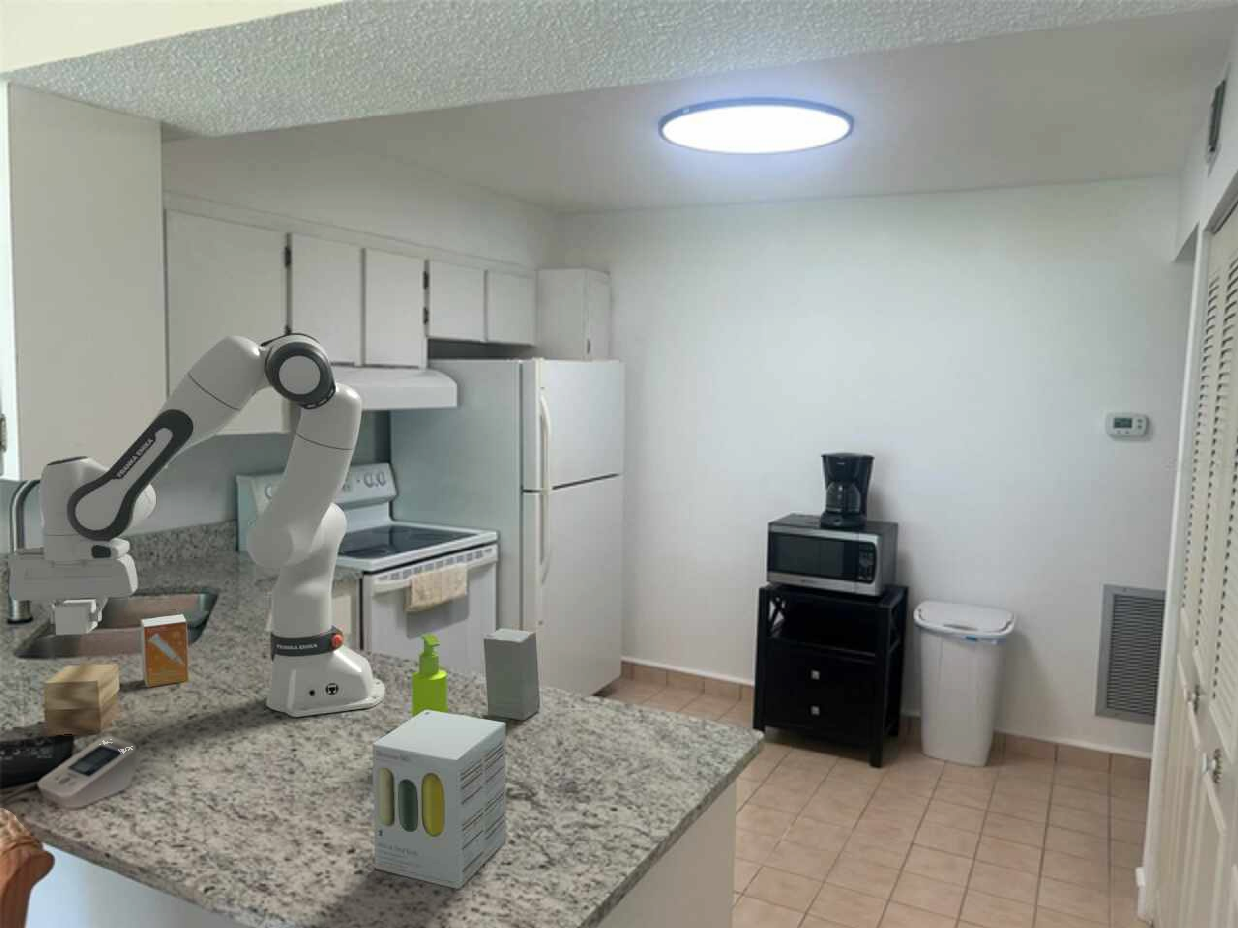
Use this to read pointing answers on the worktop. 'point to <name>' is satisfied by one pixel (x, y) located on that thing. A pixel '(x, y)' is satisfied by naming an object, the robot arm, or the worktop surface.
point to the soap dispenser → (429, 680)
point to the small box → (164, 650)
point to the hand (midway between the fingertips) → (76, 621)
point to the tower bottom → (81, 719)
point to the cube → (74, 617)
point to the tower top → (81, 687)
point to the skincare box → (511, 674)
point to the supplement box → (439, 797)
